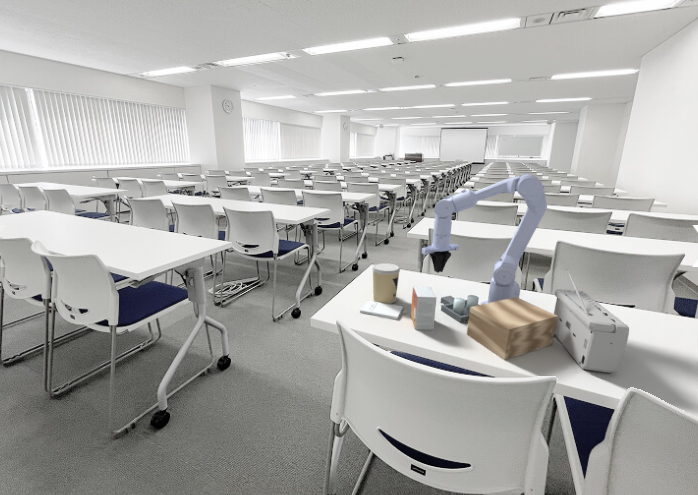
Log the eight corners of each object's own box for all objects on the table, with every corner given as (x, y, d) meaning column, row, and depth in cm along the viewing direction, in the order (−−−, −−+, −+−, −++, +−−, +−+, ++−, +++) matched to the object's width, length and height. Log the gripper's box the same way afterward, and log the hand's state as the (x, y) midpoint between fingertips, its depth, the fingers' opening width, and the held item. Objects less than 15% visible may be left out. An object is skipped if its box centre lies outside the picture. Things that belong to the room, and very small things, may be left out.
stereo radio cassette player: (619, 377, 76) (641, 299, 71) (580, 373, 78) (599, 295, 72) (575, 331, 96) (590, 267, 91) (545, 328, 98) (558, 265, 92)
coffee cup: (398, 305, 110) (401, 271, 107) (371, 304, 111) (372, 270, 108) (396, 294, 119) (398, 263, 116) (371, 293, 120) (372, 262, 117)
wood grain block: (511, 322, 101) (516, 296, 98) (551, 344, 89) (557, 315, 87) (466, 334, 94) (470, 307, 91) (504, 359, 82) (509, 329, 80)
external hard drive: (397, 321, 101) (359, 314, 106) (403, 310, 109) (367, 303, 113) (397, 317, 101) (359, 309, 105) (403, 306, 108) (367, 299, 113)
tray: (458, 298, 117) (460, 285, 116) (489, 316, 105) (491, 301, 103) (431, 304, 112) (432, 290, 111) (460, 323, 100) (462, 307, 99)
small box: (410, 316, 103) (412, 285, 101) (428, 317, 103) (430, 286, 100) (414, 329, 96) (417, 296, 93) (433, 330, 96) (436, 297, 93)
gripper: (450, 230, 119) (446, 265, 123) (417, 233, 113) (414, 270, 117) (464, 234, 113) (460, 271, 117) (430, 238, 107) (427, 277, 111)
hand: (438, 271), depth 116 cm, fingers closed
